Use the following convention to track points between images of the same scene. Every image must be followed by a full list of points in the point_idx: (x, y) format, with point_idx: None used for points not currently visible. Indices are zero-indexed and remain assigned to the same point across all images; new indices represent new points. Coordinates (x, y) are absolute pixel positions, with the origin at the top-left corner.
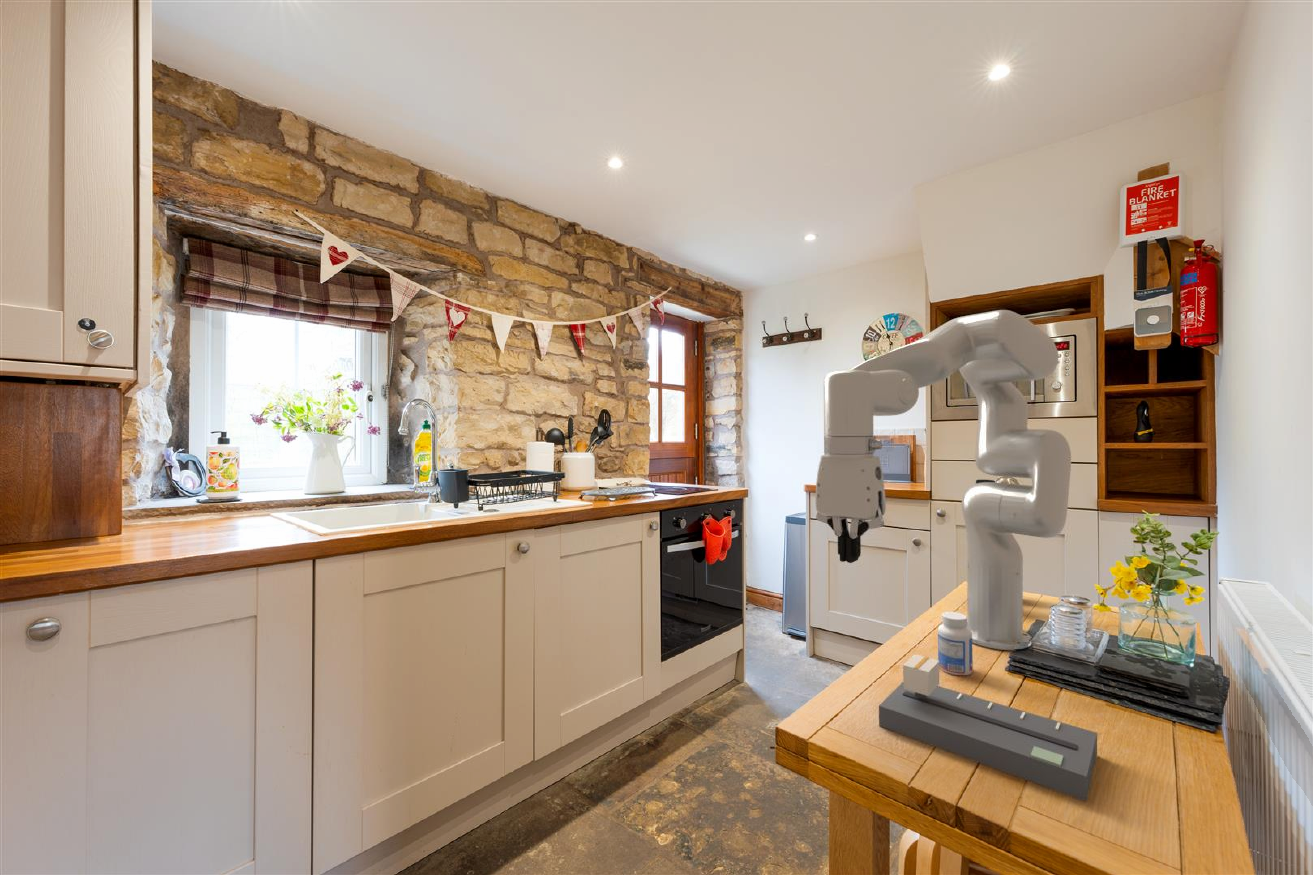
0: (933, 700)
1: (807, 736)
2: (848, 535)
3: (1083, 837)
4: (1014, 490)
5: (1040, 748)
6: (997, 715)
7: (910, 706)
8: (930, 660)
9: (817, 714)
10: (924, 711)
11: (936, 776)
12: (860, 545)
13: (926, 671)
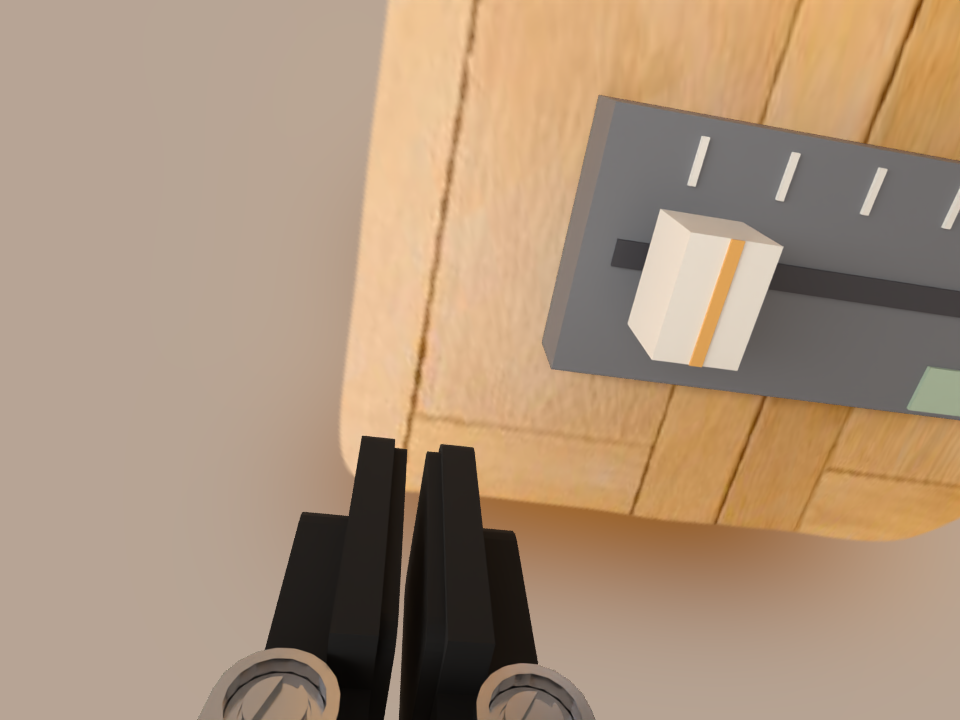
0: None
1: None
2: (369, 701)
3: (909, 496)
4: None
5: (941, 370)
6: (880, 240)
7: None
8: (749, 264)
9: (375, 374)
10: None
11: (682, 467)
12: (525, 601)
13: (730, 368)
